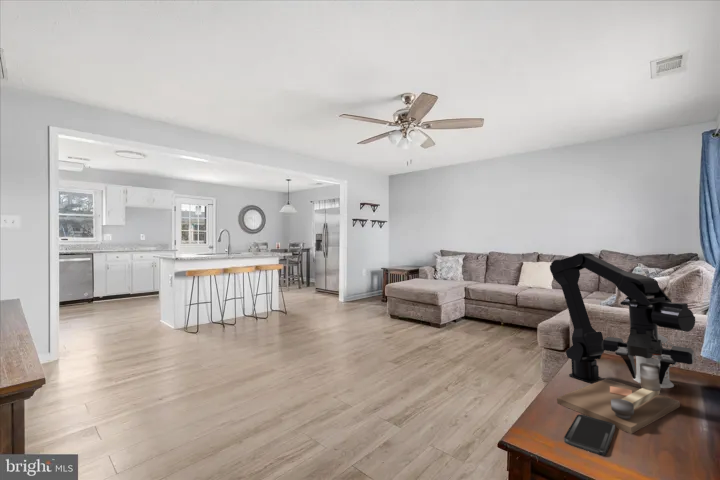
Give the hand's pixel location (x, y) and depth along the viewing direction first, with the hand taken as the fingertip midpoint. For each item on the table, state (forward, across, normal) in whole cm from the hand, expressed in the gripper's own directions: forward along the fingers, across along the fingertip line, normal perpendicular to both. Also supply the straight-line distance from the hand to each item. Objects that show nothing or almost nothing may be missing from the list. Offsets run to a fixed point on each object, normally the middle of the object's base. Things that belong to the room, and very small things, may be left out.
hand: (647, 381), depth 91 cm
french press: (+6, -1, +20) cm, 21 cm away
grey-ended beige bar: (+3, -1, -8) cm, 9 cm away
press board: (+6, -6, -6) cm, 10 cm away
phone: (+7, -6, -27) cm, 29 cm away
